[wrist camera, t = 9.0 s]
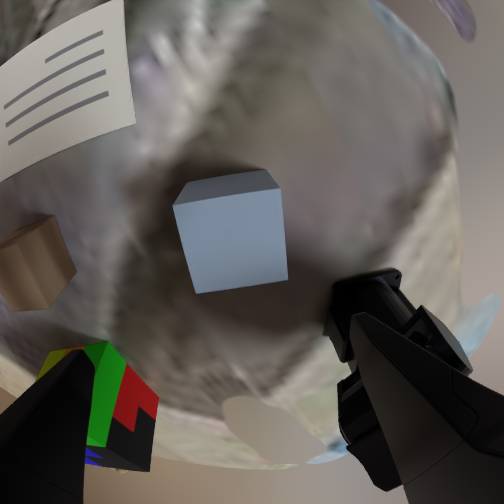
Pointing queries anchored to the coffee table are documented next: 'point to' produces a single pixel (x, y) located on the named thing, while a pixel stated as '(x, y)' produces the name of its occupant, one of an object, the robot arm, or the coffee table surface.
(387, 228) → the coffee table surface
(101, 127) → the letter
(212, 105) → the coffee table surface
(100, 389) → the puzzle toy
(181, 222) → the blue cube
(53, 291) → the walnut block
